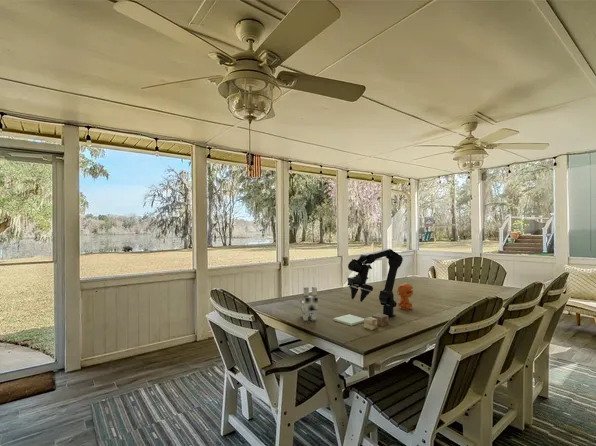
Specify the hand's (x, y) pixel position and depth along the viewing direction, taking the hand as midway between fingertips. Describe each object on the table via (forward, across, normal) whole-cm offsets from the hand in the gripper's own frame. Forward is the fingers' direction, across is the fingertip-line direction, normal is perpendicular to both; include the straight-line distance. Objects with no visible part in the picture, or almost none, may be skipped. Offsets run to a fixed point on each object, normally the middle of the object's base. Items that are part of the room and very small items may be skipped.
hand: (356, 300), depth 184 cm
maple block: (+12, +11, +6) cm, 17 cm away
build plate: (+13, -4, +2) cm, 14 cm away
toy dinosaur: (-3, -15, +49) cm, 52 cm away
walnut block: (+9, +7, +14) cm, 19 cm away
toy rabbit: (+19, -17, -19) cm, 31 cm away
